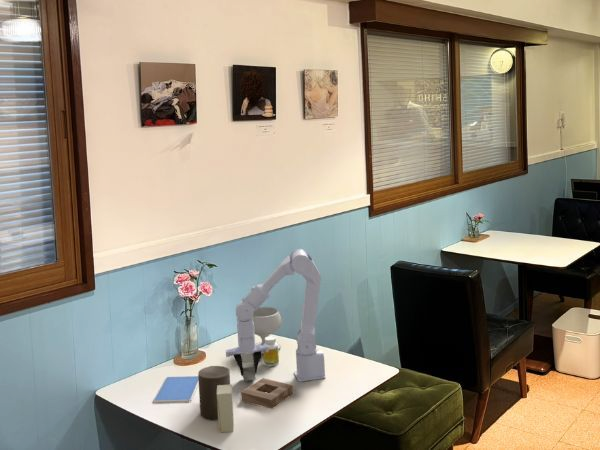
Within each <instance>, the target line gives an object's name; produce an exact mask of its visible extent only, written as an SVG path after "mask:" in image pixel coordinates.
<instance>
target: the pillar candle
mask: <svg viewBox="0 0 600 450" xmlns="http://www.w3.org/2000/svg"><path fill="white" fill-rule="evenodd" d="M230 371H231V370H230V368H228V367H227V366H221V365H209V366H205V367H203V368H201V369H200V370H198V373H197V376H198V380H199V384H198V395H199V396H198V397H199V409H200V410H199V411H200V417H201V418H202V419H204V420H208V421H218V408H217V385H230V384H231V375H230V373H231V372H230Z"/></svg>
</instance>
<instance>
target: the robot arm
mask: <svg viewBox="0 0 600 450" xmlns="http://www.w3.org/2000/svg"><path fill="white" fill-rule="evenodd" d="M295 273H297V274H298V275H301V276H302V277H303V279H305V280H306V283H305V291H304V299H303V300H304V301H303V306H302V314H301V322H300V326H299V330H298V332H297V333H296V335H295V341H296V343H297V348H296V349H295V357H296V358H295V361H296V371H293V372H294V373H293V374H294V376H295V377H296V379H297V381H298V382H300V383H301V382H306V381H307V382H308V381H314V380H321V379H322V380H323V379H326V370H325V367H326V366H325V356H324V352H323V349H317V343H316V340H315V339H316V336H315V335H316V331H315V330H316V328H315V327H316V320H317V312H318V303H319V295H320V288H321V280H322V277H321V276H322V275H321V273H320V271H319V270H318V268H317V266H316V264H315V262H314V259H313V258H312V256H311V255H310V254H309V253H308V252H307V251H305V250H304V249H302V248H298V249H294V250H293V251H292V252H291V253H290V254H289V255H287V256H286V257H285V258H284V259H283V260H282V262H280V264H279V265H278V266H277V267H276V268H275V269H274V271H273V272H272V273H271V274H270V275H269V276H268V278H267V279H266V280H265V281H263V283H262V284H256V285H253V286H252V287H251V288H250V291H249V292H248V294H247V295H245V297H242V298H241V301H239V302H237V304H236V306H235V316H236V322H237V323H236V331H237V343H238V344H237V345H238V346H237V347H234V348H230V349H229V348H228V349H225V357H226V358H230V357H233V358H234V361H235V363H236V364H237V366H238V369H239V372H240V376H241V377H243V368H242V363H243V358H242V356H243V355H249V354H252V357H253V363H254V366H255V375H257V373H258V368H259V364H260V362H261V359H262V356H263V354H261V352H269V347H268V345H255V344H256V337H255V335H256V334H254V322H253V313H254V311H255V310H257V309H258V308H259V307H261V306H262V305H263V303H265V302H266V300H268V298H270V291H271V290H272V289H273V288H274V287H275V286H276V285H277V284H279V283H280V281H281V280H283V278H284V277H286V276H294V275H295Z"/></svg>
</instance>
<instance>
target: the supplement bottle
mask: <svg viewBox="0 0 600 450" xmlns="http://www.w3.org/2000/svg"><path fill="white" fill-rule="evenodd" d="M276 339H277V338H276V337H275V336H271V335H269V336H268V337H266V338H265V344H264V345H268V347H269V352H263V353H264V354H263V364H264V365H265V366H267V367H274V366H277V365H279V363H280V359H279V350H278V344H279V343H277V342H276Z"/></svg>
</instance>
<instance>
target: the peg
mask: <svg viewBox="0 0 600 450" xmlns="http://www.w3.org/2000/svg"><path fill="white" fill-rule="evenodd" d="M242 368H243V376H242V379H243V381H245V382H246V381H252V380H256V374H255V366H254V361H251V362H244V363H243V362H242Z"/></svg>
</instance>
